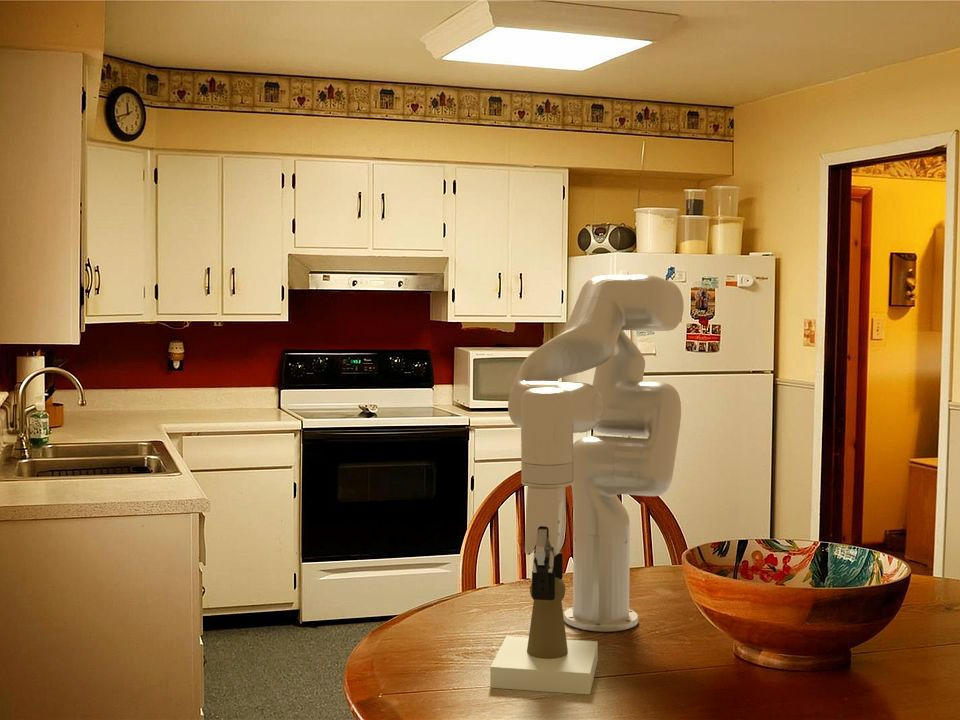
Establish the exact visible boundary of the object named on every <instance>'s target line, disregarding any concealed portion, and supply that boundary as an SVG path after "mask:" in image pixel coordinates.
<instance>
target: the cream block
mask: <svg viewBox="0 0 960 720" xmlns="http://www.w3.org/2000/svg"><path fill="white" fill-rule="evenodd" d="M528 639H529V636H528V637H527V636H515V635H514V636H513V635H512V636H511V635H506V636H505V638H504V640H503V642H502V644H501V646H500V647H499V649H498V651H497V653H496V655H495V657H494V659H493V661H492V663H491V665H490V666H489V667H490V668H489V669H490V674H489V675H490V676H489V677H490V678H489V679H490V681H489V683H490V684H489V686H490V688H491V689H505V690H517V691H519V690H520V691H533V692H544V693H546V692H547V693H562V694H563V693H564V694H576V695H591V691H592V686H593V683H594V678H595V673H596V669H597V665H598V660H599V657H598V655H599V654H598V650H599V648H598V647H599V646H598V645H599V642H598V641H596V640H578V639H566V640H567V648H568V654H567V655H566V656H563V657H561V658H555V659H542V658H536V657H533V656H531V655H529V654H528V653H527V647H528Z"/></svg>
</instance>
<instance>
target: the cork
mask: <svg viewBox="0 0 960 720" xmlns="http://www.w3.org/2000/svg"><path fill="white" fill-rule="evenodd" d="M529 593H530V597H531V598H532V582H531V583H530V586H529ZM565 594H566V586H565V582H564V581H563V579H562V580H561V579H559V578H557V577H555V599H554V600H535V599H533V598H532V600H533V603H532V611H531V620H530V626H529V634H528V637H529V639H528V647H527V653H528V654H529V655H531V656H533V657H536V658H542V659H555V658H561V657H563V656H566V655H567V654H568V648H567V640H568V639H567V633H566V632H567V631H566V624H565V621H564V609H563V600H564V598H565Z"/></svg>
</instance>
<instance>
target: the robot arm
mask: <svg viewBox="0 0 960 720" xmlns="http://www.w3.org/2000/svg"><path fill="white" fill-rule="evenodd" d="M684 304H685V303H684V298H683V294H682V292H681V289H680V288H679V286H678V285H677V284H676V283H674V282H673V281H670V280H667V279H664V278H661V277H660V276H659V277H658V276H655V275H651V274H650V275H649V274H611V275H610V274H607V275H597V276H594V277H592V278H590V279H588V280H587V281H586V282H585V283H584V284H583V286H582V288H581V290H580V292H579V294H578V296H577V298H576V302H575V304H574V306H573V309H572V311H571V315H570V317H569V319H568V321H567V324H566V327H565V329H564V331H563V332H561V333H559V334H557V335H556V336H554V337H553V338H551V339H549V340H547V341H546V342H545V343H544V344H542V345H540V346H539V347H538V348H536V349H535V350H533V351H532V352H531V353H530V354H528V356H527V357H526V358H525V359H524V361H522V363H521V365H520V367H519V369H518V371H517V374H516V376H515V379H514V381H513V384H512V386H511V388H510V391H509V392H510V393H509V396H508V402H507V409H508V410H507V411H508V416H509V418H510V420H511V422H512V424H514V425H515V426H516V427H517V428H520V432H521V433H520V441H521V442H520V443H521V444H520V449H521V450H520V451H521V452H520V454H521V455H520V458H521V460H520V461H521V462H520V464H521V465H520V466H521V467H520V468H521V469H520V470H521V473H520V476H521V479H520V480H521V484H522V486H525V487H527V492H526V501H525V502H526V505H525V533H524V534H525V536H524V553H525V554H526V555H527V556H530V555H531V554H533V561H532V562H533V563H532V571H531V583H532V597H531V598H532V600H533V599H535V600H554V599H555V577H557V578H559V579H561V580H562V581H563V577H564V576H563V575H564V574H563V569H564V567H563V565H564V564H563V561H564V558H563V553H562V551H563V550H562V547H563V545H564V543H565V534H566V513H567V511H566V510H567V507H566V505H567V503H566V502H567V500H566V498H567V497H566V495H567V493H566V488H567V487H570V486H571V492H572V506H573V509H572V510H573V512H572V513H573V514H572V515H573V519H572V520H573V521H572V524H573V525H572V527H573V530H572V531H573V534H572V535H573V536H572V537H573V543H572V544H573V545H572V548H573V552H572V554H573V556H572V557H573V558H572V561H573V563H572V568H573V569H572V570H573V571H572V607H570V608H567V609H566V610H565V611H563V616H564V623H566V624H567V625H568V626H569V627H573V628H576V629H580V630H584V631H591V632H606V633H607V632H621V631H626V630H628V629H632V628H634V627H636V626H637V625H638V624H639V614H638V613H636V611H634V610H633V609H630V568H631V567H630V562H631V561H630V559H631V558H630V555H631V553H630V552H631V551H630V550H631V549H630V547H631V545H630V543H631V521H630V516H629V514H628V511H627V509H626V507H625V506H624V504H623V503H622V501H621V500H620V498H619V497H618V495H629V496H640V497H659V496H662V495H664V494H665V493H667V492H668V490H669V488H670V486H671V484H672V481H673V475H674V469H675V461H676V456H677V455H676V454H677V449H678V442H679V435H680V428H681V421H682V420H681V419H682V402H681V398H680V394H679V392H678V390H677V389H676V388H675V387H674V386H673V385H671V384H670V383H666V382H660V381H646V380H645V381H644V374H645V367H646V360H645V357H644V356H643V353H642V352H641V350H640V349H639V348H638V346H637V345H636V344H635V343H634V341H633V340H632V339H630V337H629V336H628V335H627V334H626V333H625V331H638V332H640V331H644V332H646V331H651V332H655V331H656V332H668V331H669V332H670V331H672V330H674V329H676V328H677V327H678V326H679V325H680V323H681V321H682V318H683V316H684V309H685V307H684ZM594 368H595V369H594ZM591 369H594V376H593V382H592V384H591V383H588V382H587V383H586V382H580V381H579V382H577V381H575V382H574V381H560V379H562V378H566V377H569V376H572V375H575V374H579V373H584V372H586V371H588V370H591ZM591 430H593V431H595V432H597V433H598V434H604V435H590V436H584V437H581V438H579V439H577V440H576V441H575V442H574V434H575V433H579V434H580V433H581V434H582V433H587V432H590V431H591ZM624 436H625V437H624Z"/></svg>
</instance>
